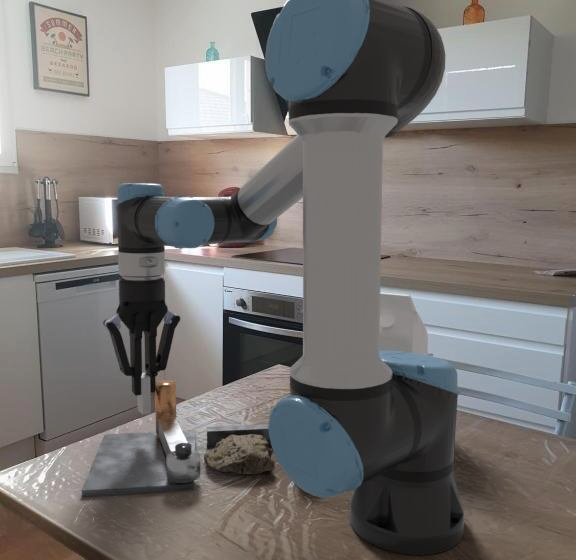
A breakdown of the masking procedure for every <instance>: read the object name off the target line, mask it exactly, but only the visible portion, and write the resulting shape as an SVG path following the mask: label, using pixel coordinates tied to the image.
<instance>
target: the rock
mask: <svg viewBox="0 0 576 560" xmlns="http://www.w3.org/2000/svg"><path fill="white" fill-rule="evenodd" d="M273 454H274V451H273V448H270V445H269V444H268V442H267V440H266V439H265V438H264V437H263V436H262V435H256V434H250V435H241V436H237V435H229V436H228V437H227V438H226V439H222V440H221V441H220V442H218V443H216V446H215V447H214V448H208V449H207V450H206V451H205V453H204V454H203V460H204V463H205V464H206V465H207V466H210V467H211V468H212V469H214V470H215V471H219V472H222V473H223V472H224V473H228V472H234V473H235V474H238V475H248V474H249V475H253V476H254V475H257V474H262V473H264V472H269V471H273V470H274V469H275V464H274V462H273V461H272V455H273Z"/></svg>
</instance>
